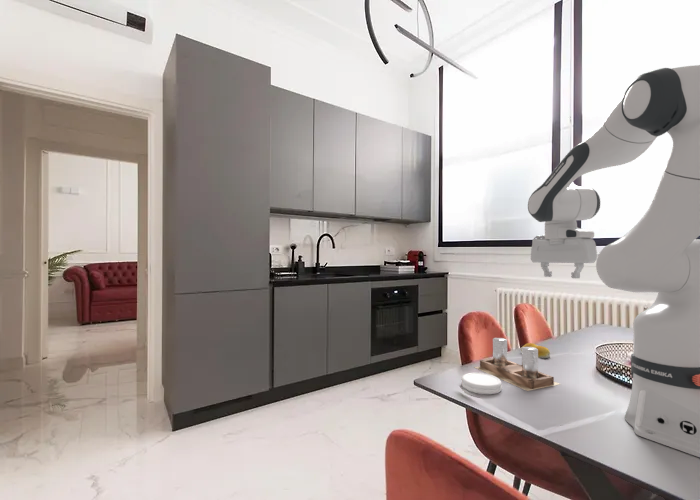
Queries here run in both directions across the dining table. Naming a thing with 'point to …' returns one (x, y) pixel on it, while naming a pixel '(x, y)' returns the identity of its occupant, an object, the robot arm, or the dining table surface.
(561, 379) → the dining table surface
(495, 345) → the glass pepper shaker
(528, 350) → the seated billet
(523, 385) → the wooden compartment tray
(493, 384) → the coaster
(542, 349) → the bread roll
